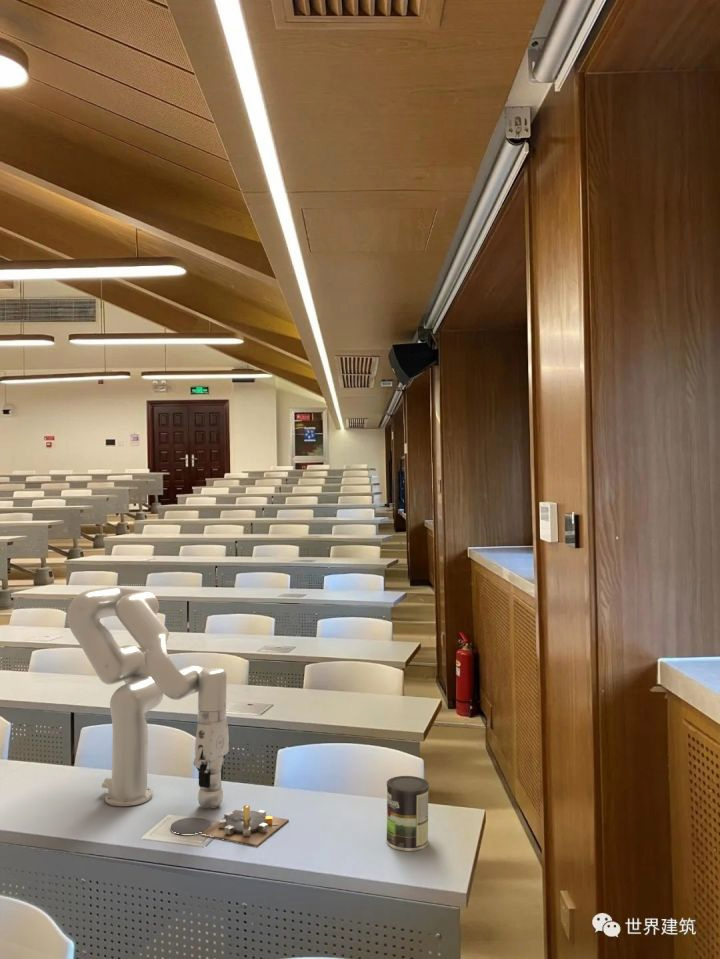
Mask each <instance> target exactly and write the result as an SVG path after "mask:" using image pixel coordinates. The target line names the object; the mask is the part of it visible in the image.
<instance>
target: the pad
mask: <svg viewBox="0 0 720 959" xmlns="http://www.w3.org/2000/svg"><path fill="white" fill-rule="evenodd" d="M211 826H212V822H211V820H209V819H207V818H205V817H199V816H193V817H191V816H190V817H184V818H180V819H178V820H175V821H174V822H172V823H171V825H170V828H171V829H170V831H171V830H172V831H173V832H176V833H179V834H195V833H199V832H203V831H205V830H206V829H208V828H209V827H211Z"/></svg>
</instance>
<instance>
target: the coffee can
mask: <svg viewBox="0 0 720 959" xmlns="http://www.w3.org/2000/svg"><path fill="white" fill-rule="evenodd" d="M429 788H430V783H429V782H428V780H426V779H424V778H422V777H418V776H413V775H398V776H394V777H391V778H389V779H388V780H387V781H386V789H387V790H386V840H385V843H386V844H387V845H388V846H389V847H391V849H395V850H398V851H403V852H404V851H405V852H417V851H420V850H423V849H425V848H426V847H428V845H429V838H428V837H429Z"/></svg>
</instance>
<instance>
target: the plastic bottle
mask: <svg viewBox="0 0 720 959" xmlns="http://www.w3.org/2000/svg"><path fill="white" fill-rule="evenodd" d="M217 755H218V759H216V760H215V761H213V762H210V766H209V771H208V772H210V787H209V788H205V787H200V786H199V790H198V795H197V800H198V804H199V806H200V807H201V808H203V809H215V808H218V807H220V806H221V805H222V804H223V799H224V793H223V792H224V791H223V787H222V780H221V766H222V759H223V749H222V748H221V749H220V750H219V752H218V754H217ZM202 759H203V760H205V758H204V757H202ZM203 764H204V766H206V762H203Z"/></svg>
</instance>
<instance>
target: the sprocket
mask: <svg viewBox="0 0 720 959" xmlns="http://www.w3.org/2000/svg"><path fill="white" fill-rule="evenodd" d="M232 812H233V811H232ZM232 812H230V811H228V812H226V813H224V817H223V818H224V819H223V818H219V820H218V821H219V828H225V832H224V833H226V834H229V835H230V834H232V833H240V834H243V836H250V833H253V832H257V831H260V832H265V831H267V830H268V825H270V824H272V817H273V816H272V815H267V811H266V810H262V809H259V810H258V811H257V810H251V805H249V804H245V805H243V807H242V808H241V810H240V812H235V813H232ZM266 815H267V816H266Z"/></svg>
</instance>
